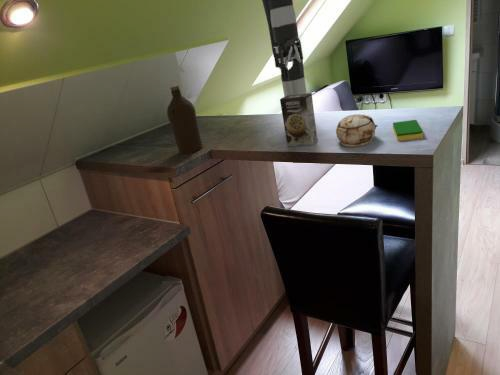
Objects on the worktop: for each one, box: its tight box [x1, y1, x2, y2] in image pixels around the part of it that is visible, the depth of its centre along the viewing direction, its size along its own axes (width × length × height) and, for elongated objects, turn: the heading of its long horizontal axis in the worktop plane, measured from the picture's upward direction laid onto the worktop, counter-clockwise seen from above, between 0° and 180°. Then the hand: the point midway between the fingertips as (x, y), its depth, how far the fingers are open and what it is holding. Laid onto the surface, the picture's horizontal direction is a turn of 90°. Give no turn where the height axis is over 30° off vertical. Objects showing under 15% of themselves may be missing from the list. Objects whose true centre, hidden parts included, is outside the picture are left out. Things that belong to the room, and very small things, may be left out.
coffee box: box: [279, 92, 318, 147], centre depth 130 cm, size 9×6×16 cm
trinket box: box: [335, 114, 378, 148], centre depth 123 cm, size 13×15×8 cm
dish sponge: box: [392, 119, 424, 142], centre depth 120 cm, size 7×14×2 cm, turn 166°
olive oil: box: [166, 85, 204, 155], centre depth 150 cm, size 11×11×25 cm
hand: (292, 77), depth 125 cm, fingers open, 8 cm apart
